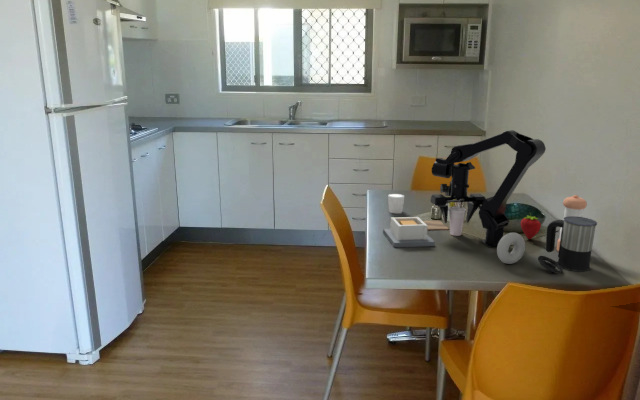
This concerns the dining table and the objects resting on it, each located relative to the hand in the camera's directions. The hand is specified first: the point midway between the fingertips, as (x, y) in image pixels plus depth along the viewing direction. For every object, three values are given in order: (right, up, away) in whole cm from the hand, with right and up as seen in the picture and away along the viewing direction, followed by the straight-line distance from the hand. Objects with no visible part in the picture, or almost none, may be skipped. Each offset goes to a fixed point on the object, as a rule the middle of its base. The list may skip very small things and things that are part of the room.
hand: (456, 222), depth 191 cm
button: (-18, -2, -6) cm, 19 cm away
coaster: (-7, -2, +11) cm, 13 cm away
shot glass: (-18, +3, +30) cm, 35 cm away
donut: (+9, -12, -27) cm, 31 cm away
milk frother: (+25, -13, -30) cm, 41 cm away
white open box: (-18, -6, -5) cm, 20 cm away
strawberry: (+25, -6, -4) cm, 26 cm away
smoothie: (0, -4, +1) cm, 4 cm away
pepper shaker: (+33, -9, -15) cm, 38 cm away
